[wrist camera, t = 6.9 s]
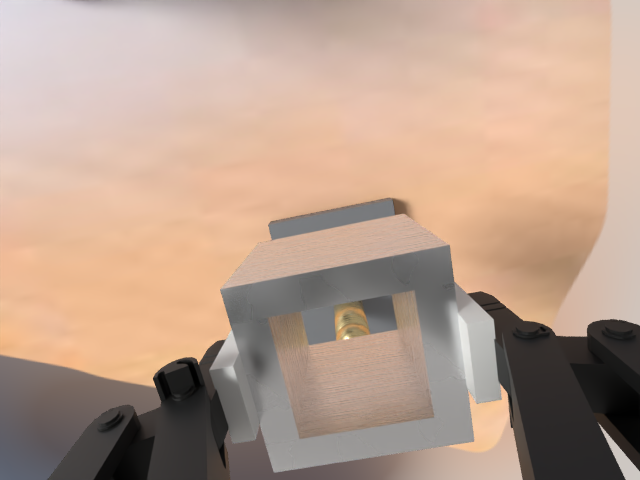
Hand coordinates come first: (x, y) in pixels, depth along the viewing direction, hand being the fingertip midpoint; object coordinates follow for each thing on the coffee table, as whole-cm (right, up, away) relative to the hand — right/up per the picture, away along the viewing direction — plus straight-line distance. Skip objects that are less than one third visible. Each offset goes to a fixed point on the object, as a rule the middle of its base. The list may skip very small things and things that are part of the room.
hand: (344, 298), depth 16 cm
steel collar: (0, 0, 0) cm, 0 cm away
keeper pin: (+1, -3, +18) cm, 18 cm away
